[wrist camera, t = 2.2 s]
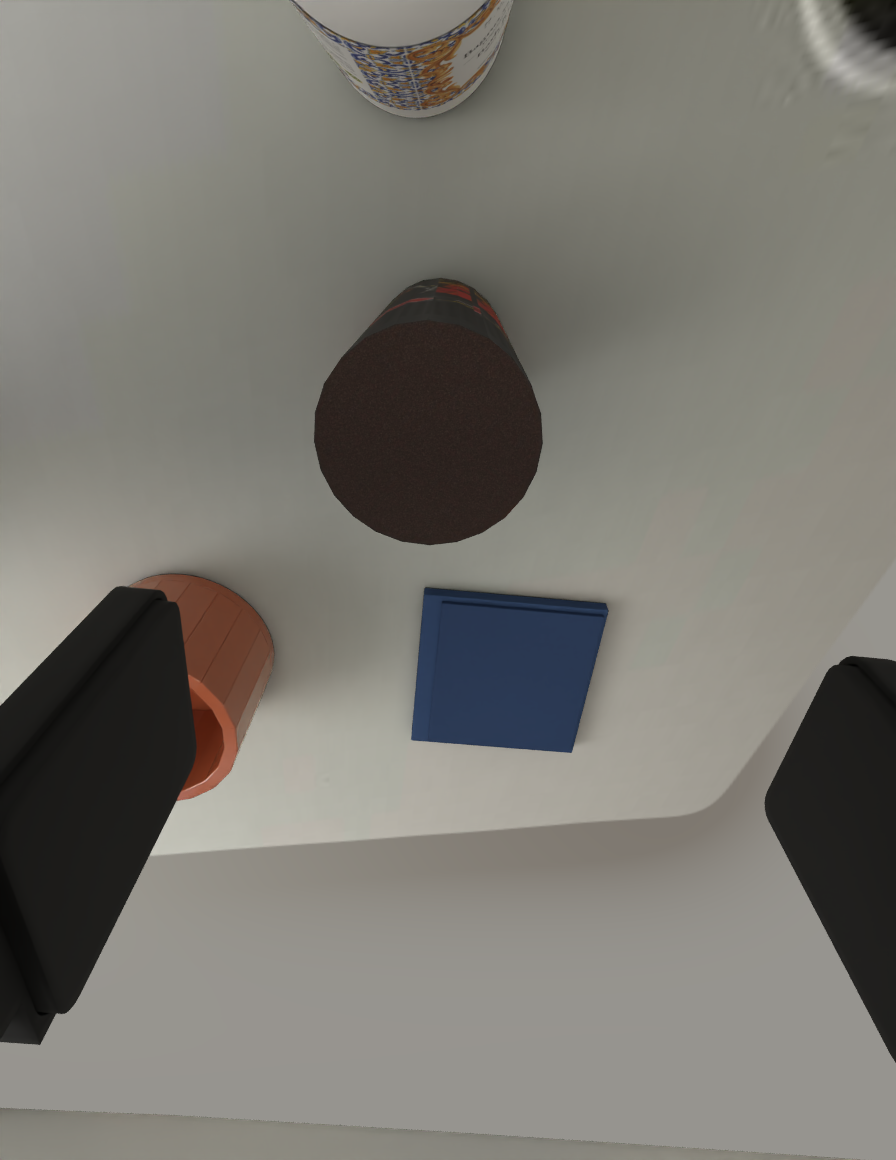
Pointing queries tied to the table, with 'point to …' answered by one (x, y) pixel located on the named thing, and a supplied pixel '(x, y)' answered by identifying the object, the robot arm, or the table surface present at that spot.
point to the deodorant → (430, 419)
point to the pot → (218, 670)
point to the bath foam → (410, 48)
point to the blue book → (504, 669)
